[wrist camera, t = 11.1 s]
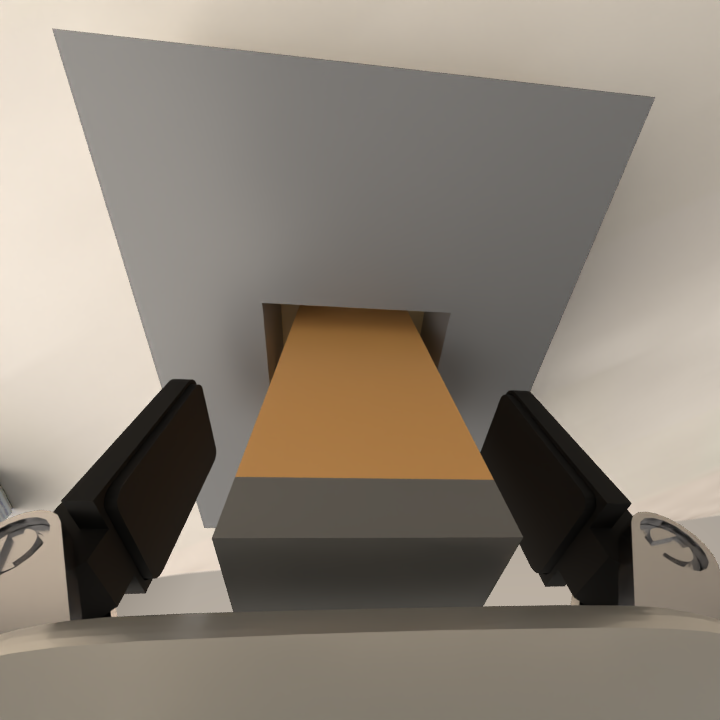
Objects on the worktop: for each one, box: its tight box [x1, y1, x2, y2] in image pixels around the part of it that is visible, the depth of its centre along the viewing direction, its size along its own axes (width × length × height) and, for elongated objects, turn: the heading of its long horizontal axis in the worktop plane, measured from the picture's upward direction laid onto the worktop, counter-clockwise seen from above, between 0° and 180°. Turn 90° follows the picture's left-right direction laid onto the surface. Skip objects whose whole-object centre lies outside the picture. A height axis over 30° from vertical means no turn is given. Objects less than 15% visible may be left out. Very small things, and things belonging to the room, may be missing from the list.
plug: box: [212, 305, 523, 612], centre depth 10 cm, size 4×4×10 cm
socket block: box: [53, 29, 655, 528], centre depth 13 cm, size 18×14×4 cm
